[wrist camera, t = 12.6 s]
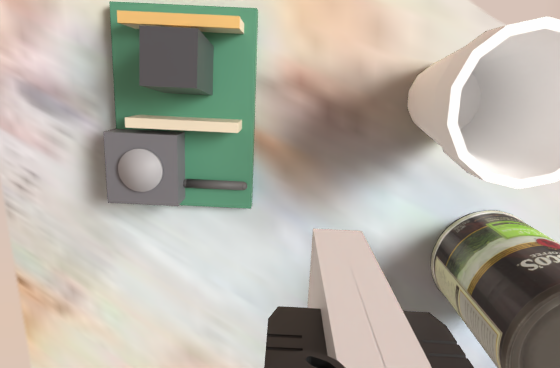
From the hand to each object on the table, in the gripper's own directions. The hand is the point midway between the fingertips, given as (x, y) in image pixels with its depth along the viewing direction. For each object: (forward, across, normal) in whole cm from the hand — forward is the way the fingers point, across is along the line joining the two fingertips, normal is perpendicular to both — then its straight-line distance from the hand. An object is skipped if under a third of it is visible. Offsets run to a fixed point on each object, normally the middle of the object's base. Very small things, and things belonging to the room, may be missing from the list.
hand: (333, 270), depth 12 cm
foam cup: (+25, -12, -5) cm, 28 cm away
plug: (+23, +10, -6) cm, 26 cm away
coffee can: (+25, -18, +10) cm, 32 cm away
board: (+24, +10, -3) cm, 27 cm away
